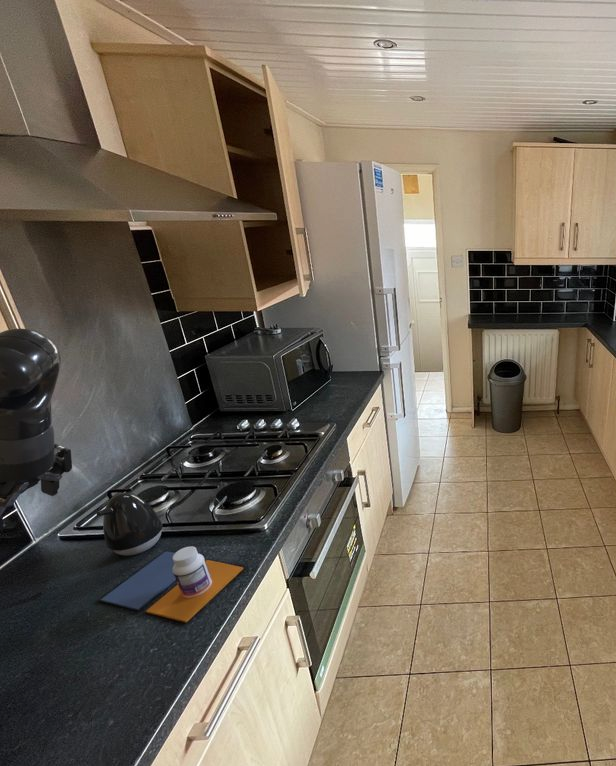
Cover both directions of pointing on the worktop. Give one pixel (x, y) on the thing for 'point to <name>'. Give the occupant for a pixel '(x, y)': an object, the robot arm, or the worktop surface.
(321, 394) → the worktop surface
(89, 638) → the worktop surface
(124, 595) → the slate mat
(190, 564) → the pill bottle
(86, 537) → the worktop surface
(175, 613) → the amber mat
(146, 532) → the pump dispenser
